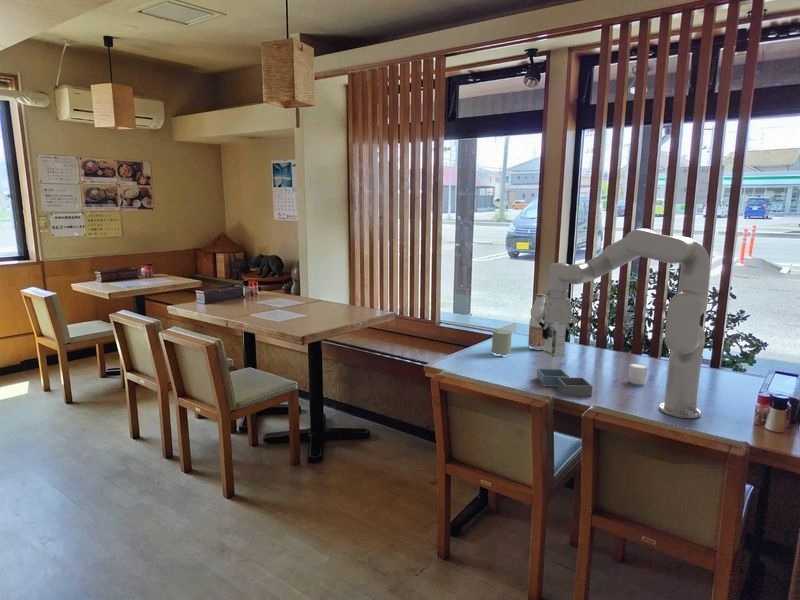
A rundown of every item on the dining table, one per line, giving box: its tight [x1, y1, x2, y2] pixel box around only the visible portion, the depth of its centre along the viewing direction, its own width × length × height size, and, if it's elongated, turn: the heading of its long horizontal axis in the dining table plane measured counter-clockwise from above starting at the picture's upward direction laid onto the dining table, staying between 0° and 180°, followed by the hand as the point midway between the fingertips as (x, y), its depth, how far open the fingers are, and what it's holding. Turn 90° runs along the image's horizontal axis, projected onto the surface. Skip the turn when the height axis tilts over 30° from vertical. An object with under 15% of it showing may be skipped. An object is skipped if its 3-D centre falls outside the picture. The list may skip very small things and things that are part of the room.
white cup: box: [628, 363, 649, 386], centre depth 205 cm, size 7×7×7 cm
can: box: [491, 329, 513, 355], centre depth 243 cm, size 9×9×12 cm
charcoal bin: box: [556, 377, 593, 397], centre depth 192 cm, size 10×10×4 cm
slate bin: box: [536, 368, 570, 386], centre depth 203 cm, size 10×10×4 cm
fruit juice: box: [527, 293, 547, 348], centre depth 255 cm, size 9×9×28 cm
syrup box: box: [543, 321, 566, 358], centre depth 201 cm, size 6×6×14 cm
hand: (555, 338), depth 201 cm, fingers closed on syrup box, 7 cm apart
